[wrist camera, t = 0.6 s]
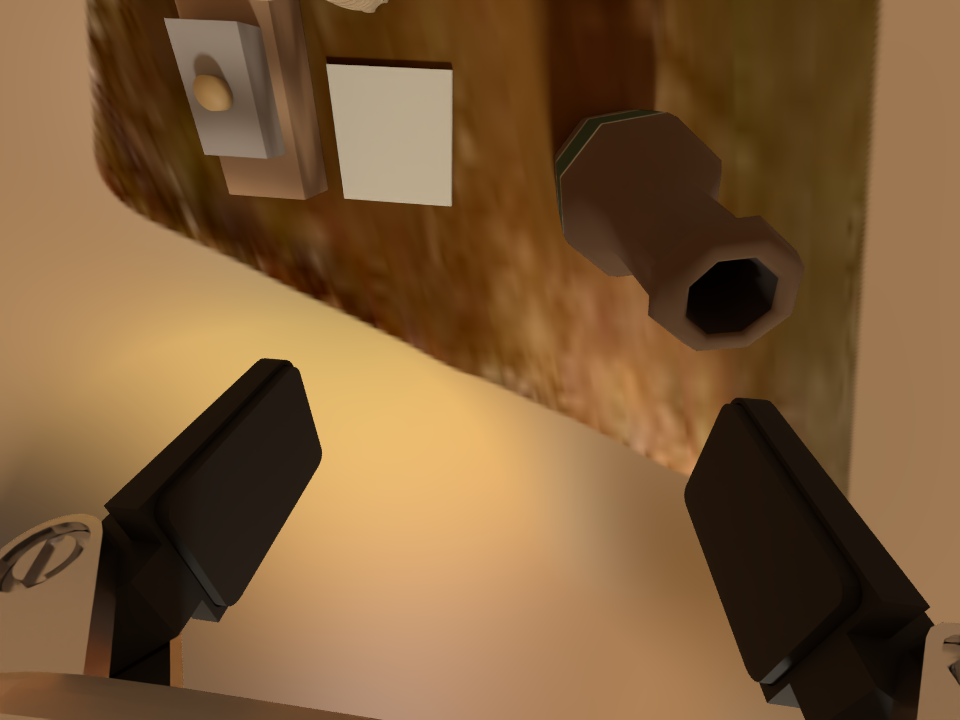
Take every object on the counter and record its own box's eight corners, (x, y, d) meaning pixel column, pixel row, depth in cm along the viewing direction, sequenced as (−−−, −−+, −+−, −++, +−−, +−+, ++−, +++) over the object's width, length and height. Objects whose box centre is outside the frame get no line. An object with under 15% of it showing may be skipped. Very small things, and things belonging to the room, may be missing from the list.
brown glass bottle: (537, 206, 32) (538, 381, 12) (571, 93, 28) (658, 77, 8) (630, 231, 32) (780, 443, 12) (677, 122, 28) (1025, 179, 8)
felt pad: (328, 64, 29) (326, 63, 28) (452, 70, 28) (451, 70, 28) (346, 197, 34) (344, 198, 33) (452, 205, 33) (451, 206, 33)
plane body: (182, -139, 24) (59, -221, 18) (277, -138, 23) (185, -222, 17) (259, 184, 34) (198, 203, 28) (328, 189, 33) (281, 210, 27)
